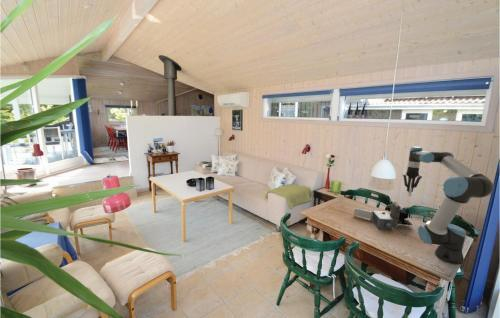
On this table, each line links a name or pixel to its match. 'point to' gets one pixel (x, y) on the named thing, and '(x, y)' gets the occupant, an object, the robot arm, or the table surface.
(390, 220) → the camera housing
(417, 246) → the table surface
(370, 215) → the side door
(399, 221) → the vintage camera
